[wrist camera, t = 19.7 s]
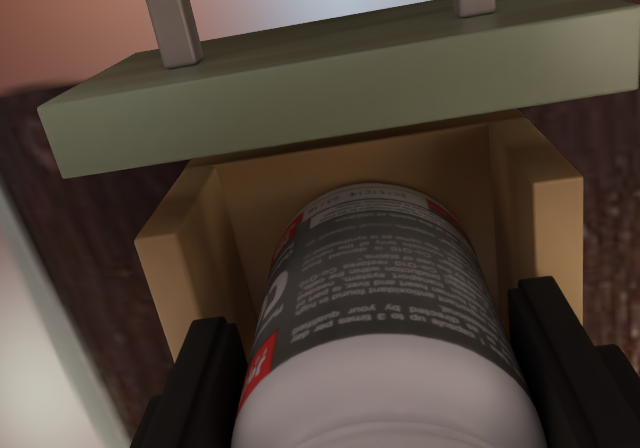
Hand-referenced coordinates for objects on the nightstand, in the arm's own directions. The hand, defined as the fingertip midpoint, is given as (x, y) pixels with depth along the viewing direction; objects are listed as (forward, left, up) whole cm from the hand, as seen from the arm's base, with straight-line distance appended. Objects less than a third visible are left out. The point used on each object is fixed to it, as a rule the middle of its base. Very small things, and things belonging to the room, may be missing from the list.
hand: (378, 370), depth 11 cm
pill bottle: (0, 0, -4) cm, 4 cm away
